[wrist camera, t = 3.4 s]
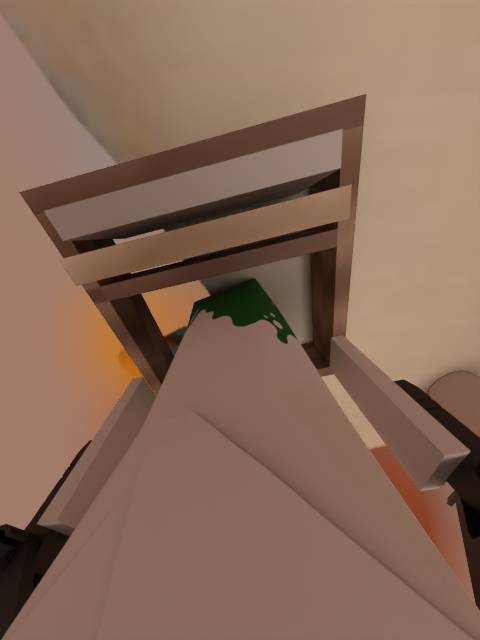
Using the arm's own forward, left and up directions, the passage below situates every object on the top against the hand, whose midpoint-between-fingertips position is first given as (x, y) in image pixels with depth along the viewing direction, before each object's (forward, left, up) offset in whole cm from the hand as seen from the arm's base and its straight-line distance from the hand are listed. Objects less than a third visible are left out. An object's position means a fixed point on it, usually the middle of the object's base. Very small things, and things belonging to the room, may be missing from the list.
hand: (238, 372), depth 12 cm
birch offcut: (-9, 0, -9) cm, 12 cm away
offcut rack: (-3, 0, -9) cm, 9 cm away
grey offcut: (-11, 0, -9) cm, 14 cm away
